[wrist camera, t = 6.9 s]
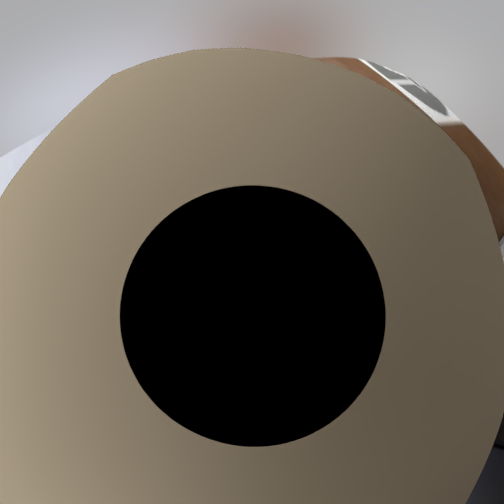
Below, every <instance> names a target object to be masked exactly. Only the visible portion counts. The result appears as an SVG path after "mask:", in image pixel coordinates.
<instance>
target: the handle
mask: <svg viewBox="0 0 504 504" xmlns="http://www.w3.org/2000/svg"><path fill="white" fill-rule="evenodd" d="M503 413H504V261H503V257H502V252H501V248H500V244H499V241H498V237H497V233H496V230H495V227H494V223H493V220H492V217H491V214H490V211H489V208H488V205H487V202H486V199H485V197H484V194H483V191H482V189H481V186H480V183H479V181H478V178H477V176H476V173H475V171H474V169H473V166H472V164H471V162H470V159H469V158H468V157H467V156H466V155H465V154H464V152H463V151H462V150H461V149H460V148H459V147H458V146H457V145H456V143H455V142H454V141H453V140H452V139H451V138H450V137H449V136H448V135H447V134H446V133H445V132H444V131H443V130H442V129H441V128H440V127H439V126H438V125H437V124H436V123H435V122H434V121H432V120H431V119H430V118H429V117H428V116H426V115H425V114H424V113H423V112H421V111H420V110H419V109H418V108H417V107H415V106H414V105H413V104H411V103H410V102H409V101H408V100H406V99H405V98H403V97H401V96H400V95H398V94H396V93H394V92H393V91H391V90H389V89H387V88H385V87H383V86H382V85H380V84H378V83H376V82H374V81H372V80H370V79H368V78H366V77H364V76H362V75H360V74H358V73H355V72H352V71H350V70H347V69H344V68H341V67H338V66H335V65H332V64H329V63H325V62H322V61H319V60H316V59H312V58H309V57H305V56H301V55H295V54H289V53H282V52H275V51H268V50H260V49H250V48H221V49H202V50H192V51H187V52H183V53H177V54H173V55H169V56H165V57H161V58H157V59H153V60H150V61H147V62H144V63H141V64H139V65H136V66H134V67H131V68H128V69H126V70H123V71H121V72H119V73H116V74H114V75H112V76H111V77H109V78H108V79H107V80H106V81H105V82H103V83H102V84H101V85H100V86H99V87H97V88H96V89H95V90H94V91H93V92H92V93H91V94H90V95H88V96H87V97H86V98H85V99H84V100H83V101H82V102H81V103H80V104H79V105H78V106H76V107H75V108H74V109H73V110H72V111H71V112H70V113H69V114H68V115H67V116H66V117H65V118H64V119H63V120H62V121H61V122H60V123H59V124H58V125H57V126H56V127H55V128H54V129H53V130H52V131H51V132H50V134H49V135H48V136H47V137H46V138H45V139H44V140H43V141H42V143H41V144H40V145H39V146H38V147H37V148H36V150H35V151H34V152H33V153H32V154H31V156H30V157H29V158H28V159H27V160H26V162H25V163H24V164H23V166H22V167H21V168H20V169H19V171H18V172H17V173H16V175H15V176H14V177H13V179H12V180H11V181H10V183H9V184H8V186H7V188H6V189H5V191H4V192H3V194H2V196H1V197H0V504H465V503H466V502H467V500H468V498H469V496H470V494H471V492H472V490H473V488H474V486H475V484H476V482H477V480H478V478H479V476H480V474H481V472H482V470H483V468H484V465H485V463H486V461H487V458H488V456H489V454H490V451H491V449H492V446H493V444H494V441H495V438H496V436H497V433H498V430H499V427H500V424H501V421H502V417H503Z"/></svg>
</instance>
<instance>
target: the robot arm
mask: <svg viewBox="0 0 504 504" xmlns="http://www.w3.org/2000/svg"><path fill="white" fill-rule="evenodd" d="M465 504H504V413H503V417H502V421H501V424H500V427H499V430H498V433H497V436H496V438H495V441H494V444H493V446H492V449H491V451H490V454H489V456H488V458H487V461H486V463H485V465H484V468H483V470H482V472H481V474H480V476H479V478H478V480H477V482H476V484H475V486H474V488H473V490H472V492H471V494H470V496H469V498H468V500H467V502H466V503H465Z"/></svg>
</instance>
